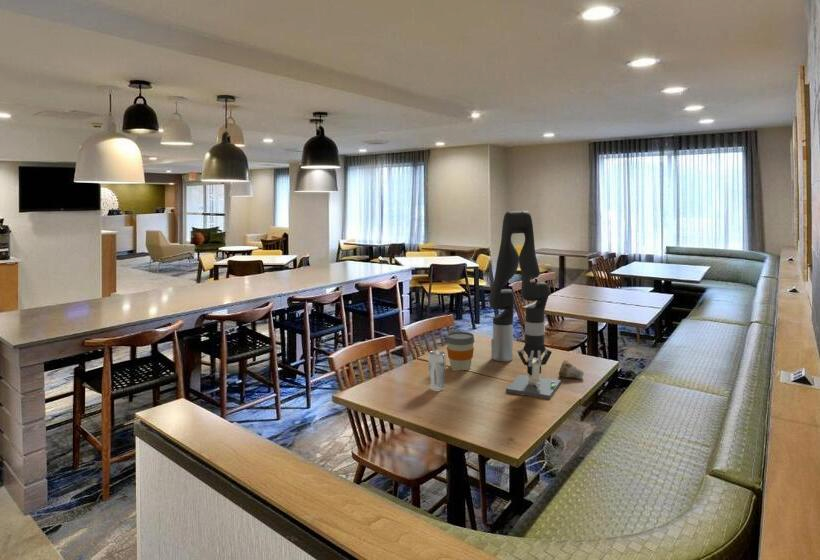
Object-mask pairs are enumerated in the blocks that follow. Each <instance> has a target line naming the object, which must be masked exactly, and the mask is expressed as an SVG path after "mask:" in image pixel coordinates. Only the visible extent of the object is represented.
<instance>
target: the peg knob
mask: <svg viewBox="0 0 820 560" xmlns="http://www.w3.org/2000/svg"><path fill="white" fill-rule="evenodd" d="M531 366H532V375H529V374H528V375H527V376H528V384H529V385H533V386H537V387H540V377H541V376H540V374H539V372H540V365H539V363H538V362H537V359H536V358H533V361H532V365H531Z"/></svg>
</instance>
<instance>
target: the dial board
mask: <svg viewBox="0 0 820 560" xmlns="http://www.w3.org/2000/svg"><path fill="white" fill-rule="evenodd" d="M528 376H529V375H526V374H519V375H518V376H517V377H516V378H515V379H514V380H513V381H512V382H511V383H510V384H508V386H507V387H505V393H508V392H510V393H509V394H514V393H516V394H515V395H520V394H523V395H522V396H526V395H529V396H528V397H532V396H535V397H534V398H539V397H542V398H541V399H545V398H547V399H546V400H550V399H551V398H552V397H553V395H554V394H555V393H556V392H557V390H558V389H559V387H560V386H561V384H562V383H561V380H560V379H555V378H549V377H547V378H546V377H541V376H540V387H537V386H533V385H529V384H528ZM554 392H555V393H554Z"/></svg>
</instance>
